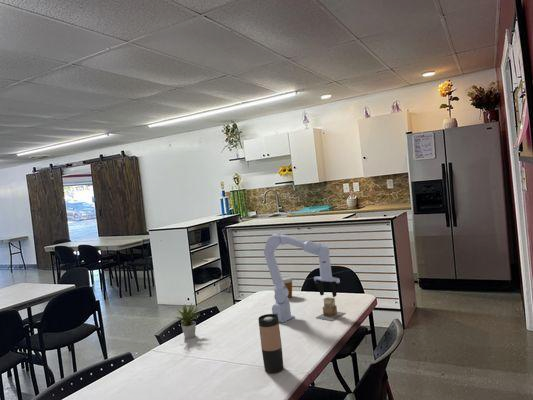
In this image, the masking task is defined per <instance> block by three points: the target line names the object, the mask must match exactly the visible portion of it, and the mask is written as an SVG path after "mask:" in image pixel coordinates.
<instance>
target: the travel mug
mask: <svg viewBox="0 0 533 400" xmlns="http://www.w3.org/2000/svg"><path fill="white" fill-rule="evenodd" d="M257 319H258V327H259V329H258V330H259V337H260V338H259V339H260V347H261V355H262V359H263V361H262V362H263V367H264V371H265V373H267V374H269V375H270V374H272V375H273V374H279V373H281V372H283V370H284V358H283V347H282V338H281V331H280V322H279V321H278V316H277V315H276V314H272V313H267V314H263V315H260V316H259V317H258V318H257Z"/></svg>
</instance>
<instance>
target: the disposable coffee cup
mask: <svg viewBox="0 0 533 400" xmlns="http://www.w3.org/2000/svg"><path fill="white" fill-rule="evenodd" d="M281 277H282V281H283V282H284V284H285V286H286V288H287V289H288V291H289V294H288V296H287V297H288V299H291V298H293V277H292V276H290V275H287V276H281Z"/></svg>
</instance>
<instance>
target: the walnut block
mask: <svg viewBox="0 0 533 400" xmlns="http://www.w3.org/2000/svg"><path fill="white" fill-rule="evenodd" d="M337 307H338V306H337V305H336V304H335V306H334V307H332V308H328V307H324V306H323V307H322V312H323V313H322V314H324V316H327V317H333V316H335V315H337V312H338V309H337Z"/></svg>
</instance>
